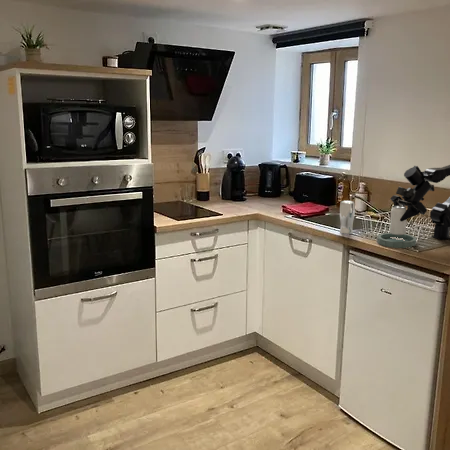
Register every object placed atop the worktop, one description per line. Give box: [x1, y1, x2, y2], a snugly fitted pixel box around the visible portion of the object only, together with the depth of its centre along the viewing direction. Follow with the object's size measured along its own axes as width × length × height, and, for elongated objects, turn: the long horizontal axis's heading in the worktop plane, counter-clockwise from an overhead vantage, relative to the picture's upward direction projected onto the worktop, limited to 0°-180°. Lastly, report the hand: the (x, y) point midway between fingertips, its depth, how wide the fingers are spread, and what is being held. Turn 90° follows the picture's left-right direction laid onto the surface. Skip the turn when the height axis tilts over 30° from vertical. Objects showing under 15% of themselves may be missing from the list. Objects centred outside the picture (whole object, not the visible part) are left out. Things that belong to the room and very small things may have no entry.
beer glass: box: [339, 200, 356, 235], centre depth 240 cm, size 7×7×15 cm
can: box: [389, 205, 407, 235], centre depth 220 cm, size 6×6×12 cm
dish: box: [377, 232, 418, 249], centre depth 222 cm, size 16×16×2 cm
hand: (395, 219), depth 220 cm, fingers closed on can, 6 cm apart
